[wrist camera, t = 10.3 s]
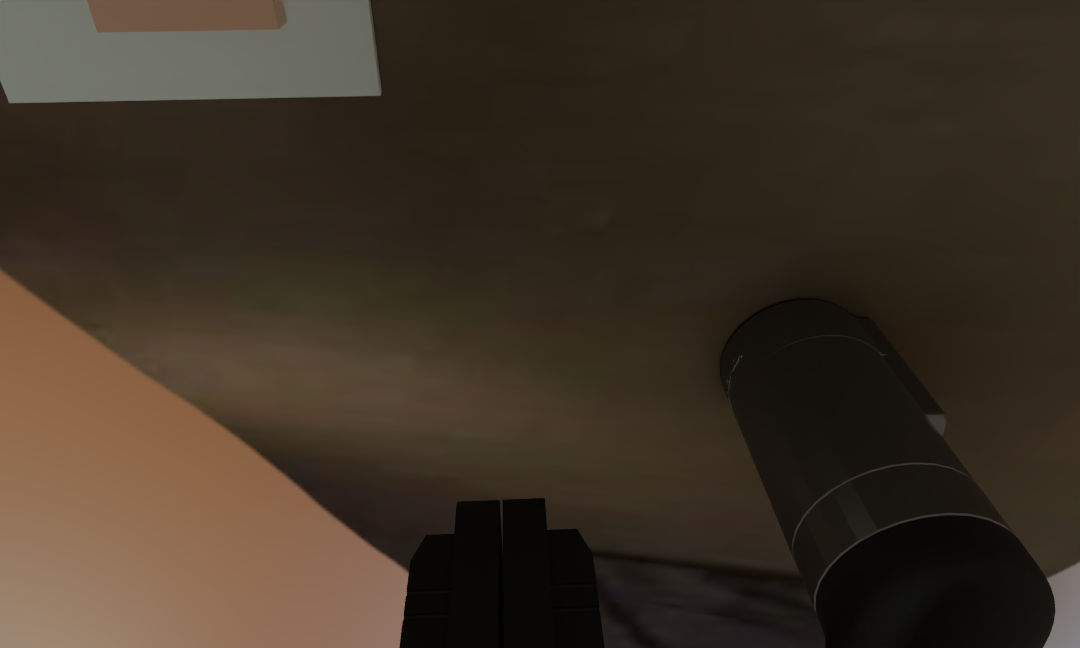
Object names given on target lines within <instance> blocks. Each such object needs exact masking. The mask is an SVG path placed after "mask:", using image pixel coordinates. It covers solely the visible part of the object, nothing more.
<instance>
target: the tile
mask: <svg viewBox="0 0 1080 648" xmlns="http://www.w3.org/2000/svg"><path fill="white" fill-rule="evenodd" d="M87 2H88V5H89V8H90V11H91V14H92V17H93V21H94V24H95V27H96V30H97V33H100V32H159V31H219V30H278V29H280V28H281V27H282V26H283V25H284V24H285V23H286V21H285V15H284V10H283V5H282V0H87Z"/></svg>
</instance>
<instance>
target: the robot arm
mask: <svg viewBox="0 0 1080 648" xmlns="http://www.w3.org/2000/svg"><path fill="white" fill-rule="evenodd" d="M720 376H721V380H722V384H723V387H724V390H725V392H726V395H727V398H728V401H729V404H730V406H731V409H733V412H734V414H735V417H736V419H737V422H738V424H739V427H740V429H741V432H742V434H743V437H744V439H745V441H746V444H747V446H748V449H749V451H750V454H751V456H752V458H753V461H754V463H755V466H756V468H757V471H758V473H759V475H760V478H761V480H762V483H763V485H764V488H765V490H766V492H767V495H768V497H769V500H770V502H771V505H772V507H773V509H774V512H775V514H776V517H777V519H778V522H779V524H780V526H781V529H782V531H783V534H784V536H785V539H786V541H787V543H788V546H789V548H790V551H791V553H792V556H793V558H794V560H795V563H796V565H797V567H798V570H799V572H800V575H801V577H802V580H803V582H804V585H805V587H806V589H807V592H808V594H809V597H810V599H811V602H812V604H813V606H814V609H815V611H816V614H817V617H818V619H819V622H820V624H821V627H822V630H823V632H824V635H825V641H826V646H825V648H1043V646H1044V644H1045V642H1046V641H1047V639H1048V637H1049V635H1050V632H1051V629H1052V626H1053V623H1054V616H1055V602H1054V596H1053V593H1052V590H1051V587H1050V585H1049V583H1048V581H1047V579H1046V577H1045V575H1044V574H1043V572H1042V571H1041V569H1040V567H1039V566H1038V565H1037V563H1036V562H1035V561H1034V559H1033V558H1032V557H1031V555H1030V554H1029V553H1028V551H1027V550H1026V549H1025V547H1024V546H1023V544H1022V543H1021V542H1020V540H1019V539H1018V538H1017V537H1016V536H1015V534H1014V533H1013V531H1012V530H1011V529H1010V527H1009V526H1008V525H1007V523H1006V522H1005V521H1004V519H1003V518H1002V517H1001V515H1000V514H999V512H998V511H997V510H996V508H995V507H994V506H993V504H992V503H991V502H990V500H989V499H988V498H987V496H986V495H985V494H984V492H983V491H982V490H981V488H980V487H979V486H978V485H977V483H976V482H975V481H974V479H973V478H972V476H971V475H970V474H969V472H968V471H967V470H966V468H965V467H964V466H963V464H962V463H961V462H960V460H959V459H958V458H957V456H956V455H955V454H954V452H953V451H952V450H951V448H950V447H949V445H948V444H947V443H946V441H945V440H944V439H943V437H942V436H943V433H944V431H945V428H946V426H947V417H946V414H945V413H944V411H943V410H942V409H941V408H940V406H939V405H938V404H937V402H936V401H935V400H934V399H933V397H932V396H931V395H930V393H929V392H928V391H927V390H926V388H925V387H924V386H923V384H922V383H921V382H920V381H919V379H918V378H917V377H916V375H915V374H914V373H913V372H912V370H911V369H910V368H909V366H908V365H907V364H906V363H905V361H904V360H903V359H902V357H901V356H900V355H899V354H898V352H897V351H896V350H895V348H894V347H893V346H892V345H891V343H890V342H889V341H888V339H887V338H886V337H885V336H884V334H883V333H882V332H881V330H880V329H879V328H878V327H877V325H876V324H875V323H874V321H873V320H872V319H871V318H856V317H854V316H852V315H851V314H849V313H848V312H847V311H845V310H844V309H843V308H841V307H839V306H836V305H834V304H831V303H829V302H824V301H819V300H795V301H790V302H785V303H781V304H778V305H776V306H773V307H770V308H768V309H766V310H764V311H762V312H760V313H759V314H757V315H755V316H754V317H752V318H751V319H750V320H748V321H747V322H746V323H745V324H744V325H742V326H741V327H740V328H739V329H738V331H737V332H736V333H735V334H734V335H733V336H732V338H731V339H730V341H729V343H728V344H727V346H726V348H725V350H724V353H723V356H722V360H721V365H720ZM400 648H604V640H603V632H602V624H601V617H600V612H599V601H598V593H597V588H596V578H595V570H594V562H593V555H592V552H591V550H590V549H589V547H588V546H587V544H586V543H585V541H584V539H583V538H582V536H581V535H580V533H579V532H578V530H577V529H561V530H547V523H546V508H545V498H534V499H508V500H503V555H502V536H501V517H500V501H499V500H488V501H462V502H457V507H456V520H455V534H441V535H426V536H425V538H424V540H423V541H422V543H421V545H420V546H419V548H418V549H417V551H416V553H415V554H414V556H413V558H412V559H411V561H410V569H409V577H408V585H407V596H406V601H405V609H404V620H403V625H402V633H401V641H400Z"/></svg>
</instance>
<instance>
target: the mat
mask: <svg viewBox="0 0 1080 648" xmlns="http://www.w3.org/2000/svg"><path fill="white" fill-rule="evenodd" d="M282 5H283V10H284V15H285V21H286V23H285V24H284V25H283V26H282V27H281V28H280V29H278V30H219V31H159V32H100V33H97V30H96V27H95V24H94V21H93V17H92V14H91V11H90V8H89V5H88V2H87V0H0V81H1V84H2V86H3V89H4V91H5V93H6V96H7V98H8V101H9V103H40V102H90V101H141V100H191V99H242V98H292V97H343V96H380V95H381V93H382V88H381V80H380V72H379V64H378V56H377V48H376V40H375V32H374V24H373V15H372V7H371V0H282Z"/></svg>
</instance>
